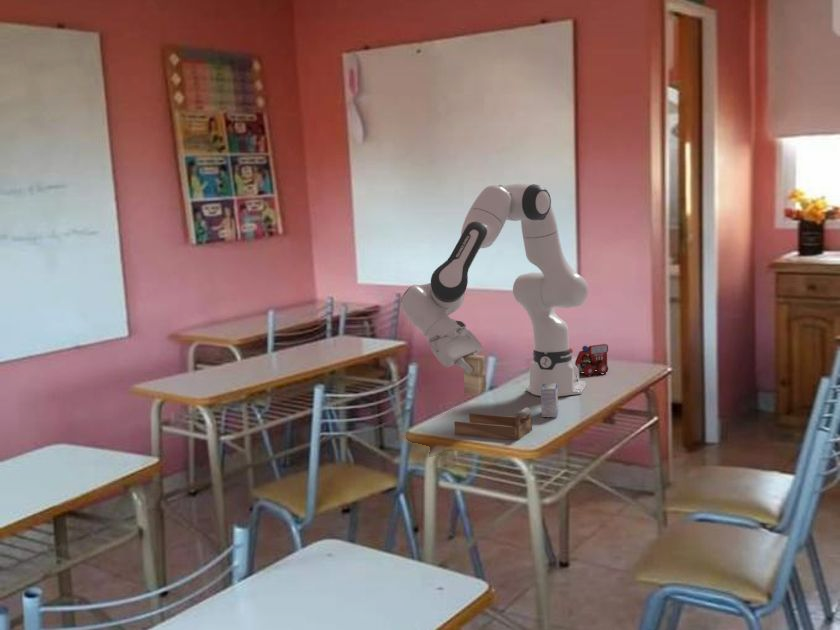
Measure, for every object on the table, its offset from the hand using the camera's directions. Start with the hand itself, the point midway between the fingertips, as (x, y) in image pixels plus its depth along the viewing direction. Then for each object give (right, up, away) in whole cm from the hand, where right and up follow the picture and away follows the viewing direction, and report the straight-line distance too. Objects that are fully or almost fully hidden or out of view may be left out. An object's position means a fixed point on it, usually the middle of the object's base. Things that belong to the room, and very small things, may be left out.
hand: (476, 369), depth 254 cm
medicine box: (+23, -14, +17) cm, 32 cm away
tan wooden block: (0, -6, +1) cm, 6 cm away
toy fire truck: (+45, -6, +70) cm, 83 cm away
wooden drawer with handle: (+5, -17, 0) cm, 18 cm away
